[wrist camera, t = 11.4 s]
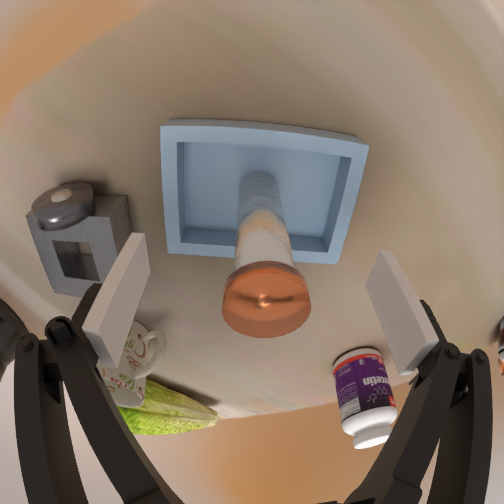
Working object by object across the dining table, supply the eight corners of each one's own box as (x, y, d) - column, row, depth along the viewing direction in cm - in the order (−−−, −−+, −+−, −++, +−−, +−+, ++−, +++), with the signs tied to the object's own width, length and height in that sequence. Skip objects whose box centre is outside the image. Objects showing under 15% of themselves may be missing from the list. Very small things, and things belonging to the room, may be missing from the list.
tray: (175, 234, 27) (167, 253, 24) (171, 118, 20) (160, 126, 18) (329, 245, 27) (337, 264, 25) (356, 136, 21) (369, 145, 18)
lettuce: (205, 436, 50) (220, 460, 38) (90, 411, 43) (77, 432, 31) (215, 385, 53) (233, 399, 42) (98, 357, 46) (84, 365, 35)
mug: (93, 322, 35) (69, 380, 27) (146, 290, 31) (121, 363, 23) (134, 353, 39) (119, 409, 31) (193, 330, 35) (182, 399, 27)
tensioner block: (68, 270, 29) (45, 308, 24) (43, 179, 22) (5, 211, 17) (140, 277, 30) (123, 322, 25) (124, 176, 23) (91, 211, 18)
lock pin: (233, 208, 24) (221, 335, 14) (236, 164, 22) (223, 276, 11) (279, 211, 25) (300, 338, 14) (286, 168, 22) (320, 281, 12)
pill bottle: (389, 350, 39) (413, 430, 28) (356, 375, 43) (372, 449, 32) (355, 340, 37) (378, 433, 25) (321, 368, 41) (333, 452, 30)
